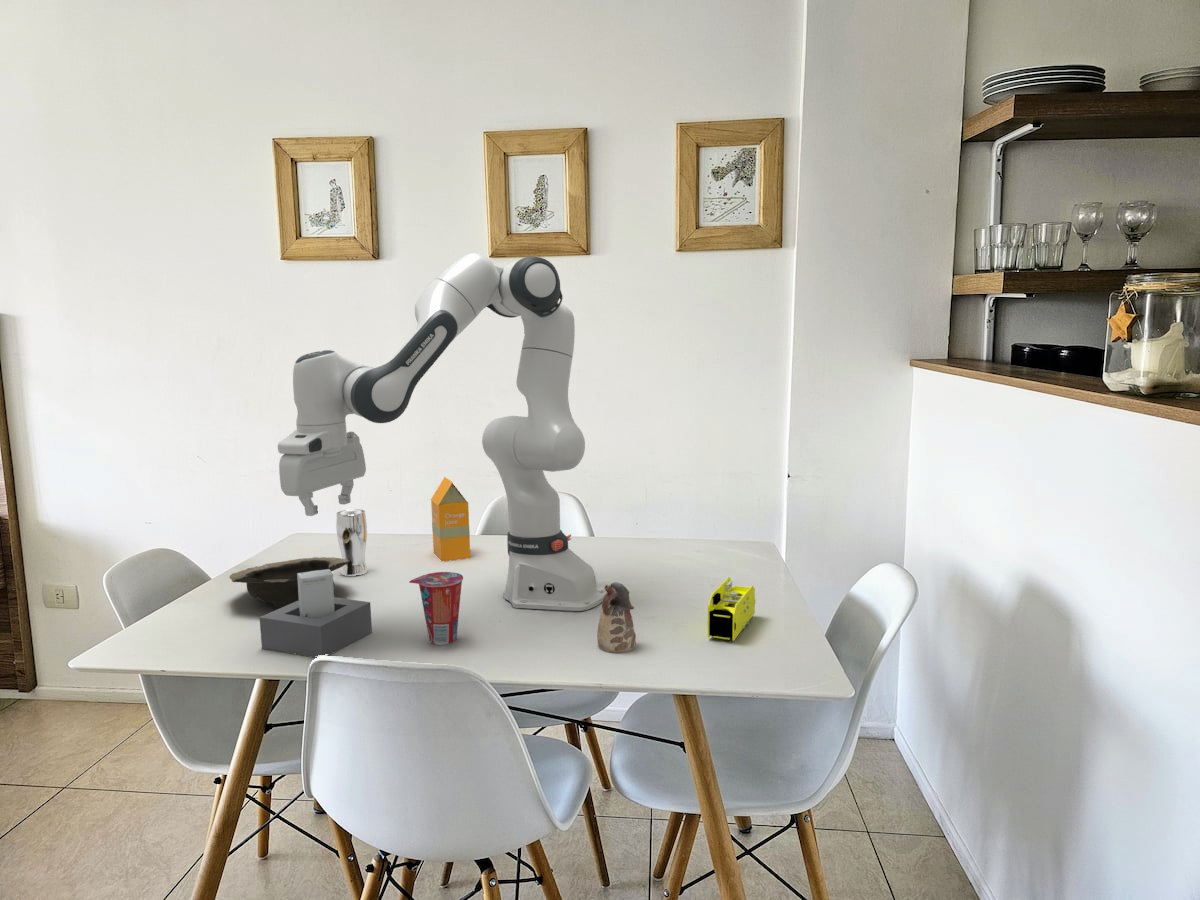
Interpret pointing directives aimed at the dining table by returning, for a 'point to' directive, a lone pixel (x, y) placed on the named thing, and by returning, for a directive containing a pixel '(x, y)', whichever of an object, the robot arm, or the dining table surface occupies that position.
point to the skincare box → (316, 593)
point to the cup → (441, 605)
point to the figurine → (616, 621)
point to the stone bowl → (282, 578)
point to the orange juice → (450, 523)
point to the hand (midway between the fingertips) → (328, 509)
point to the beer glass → (352, 540)
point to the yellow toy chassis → (730, 610)
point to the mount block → (315, 628)
